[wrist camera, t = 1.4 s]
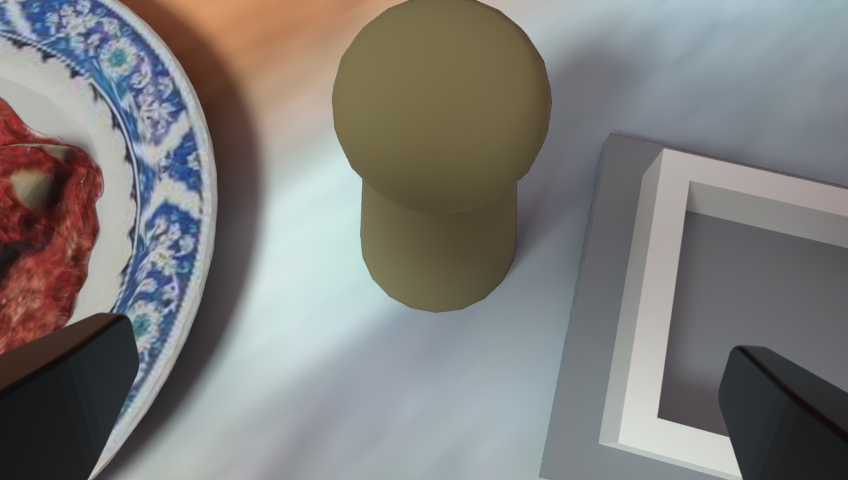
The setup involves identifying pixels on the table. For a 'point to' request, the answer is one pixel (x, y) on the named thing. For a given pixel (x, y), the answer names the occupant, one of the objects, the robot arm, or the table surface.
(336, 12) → the table surface
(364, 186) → the olive rounded knob shape
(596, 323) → the socket base
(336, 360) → the table surface
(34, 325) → the ceramic plate
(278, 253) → the table surface
